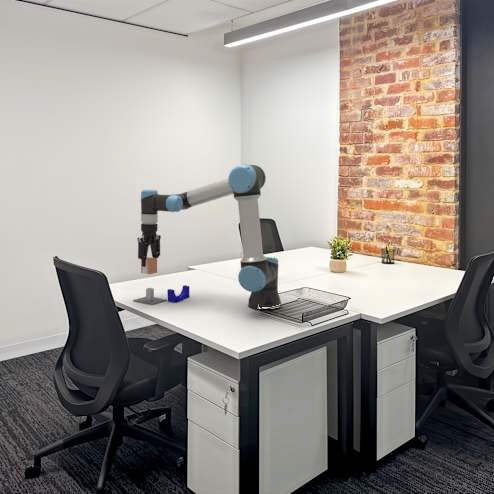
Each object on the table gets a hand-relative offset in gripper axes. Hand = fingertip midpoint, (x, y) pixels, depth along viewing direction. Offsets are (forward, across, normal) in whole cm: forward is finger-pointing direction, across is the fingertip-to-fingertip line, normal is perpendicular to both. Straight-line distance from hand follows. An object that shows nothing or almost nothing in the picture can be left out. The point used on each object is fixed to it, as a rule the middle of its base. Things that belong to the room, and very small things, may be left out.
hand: (149, 272), depth 246 cm
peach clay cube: (0, 0, 0) cm, 0 cm away
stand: (+14, 0, 0) cm, 14 cm away
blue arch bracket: (+14, -10, +10) cm, 20 cm away
